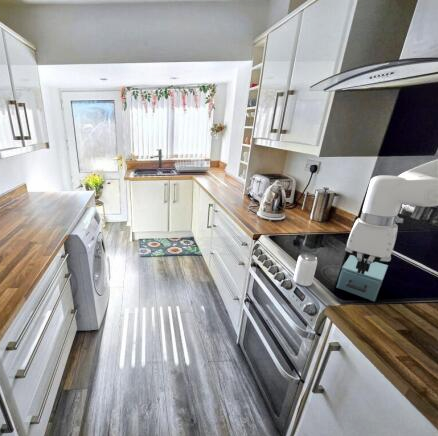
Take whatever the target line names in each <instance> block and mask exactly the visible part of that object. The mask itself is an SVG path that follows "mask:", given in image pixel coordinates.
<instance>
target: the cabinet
mask: <svg viewBox="0 0 438 436" xmlns="http://www.w3.org/2000/svg"><path fill="white" fill-rule="evenodd" d="M366 259H367V258H364V260H366ZM357 262H358V261H357V258H356V257H355V256H354V255H353V254H349V256H348V258H347V260H346V261H345V262H344V264H343V265H342V267H341V270H340V274H339V277H338V280H337V282H336V283H337V284H336V286H335V287H336V288H337V289H340V288H338V286H339V282H340V279H341V276H342V272H343V270H347V271H351V272H354V273H357V271H358V269H356V265H357ZM364 262H365V261H364ZM388 267H389V265H388V264H386V263H385V264H384V263H382V262H379V261H377V262H374V263H372V264H370V267H369V270H368V272H366V271H365V273H364V274H362V273H361V272H360V273H357V274H360V275H363V276H366V277H369V278H372V279H376V280H378V281H380V282H379V285H378V287H377V290H376V293H375V295H374V298H373V300H370V299H367V298H365V297H362V296H359V295H356V294H354V293H351V292H348V291H346V290H343V289H340V290H343V291H345V292H347V293H350V294H353V295H355V296H358V297H361V298H363V299H367V300H369V301H371V302H374V303H375V302H376V300H377V297H378V294H379V291H380V288H381V287H382V283H383V280H384V278H385V275H386V273H387V270H388ZM361 271H362V270H361Z"/></svg>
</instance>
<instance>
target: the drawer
mask: <svg viewBox="0 0 438 436" xmlns="http://www.w3.org/2000/svg"><path fill="white" fill-rule="evenodd" d="M379 282H380V281H378V280H376V279H372V278H369V277H364V276H361V275H358V274H357V273H354V272H351V271H347V270H343V272H342V276H341V279H340V282H339V286H338V288H337V289H339V288H340V290H342V289H343V291H345V290H346V291H345V292H347V291H348V292H347V293H350V292H351V293H350V294H353V293H354V294H353V295H355V294H356V295H355V296H358V295H359V296H358V297H361V296H362V297H361V298H363V297H365V298H364V299H366V298H367V300H369V299H370V300H369V301H372V300H373V298H374V295H375V293H376V290H377V287H378V285H379Z"/></svg>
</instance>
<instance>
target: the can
mask: <svg viewBox="0 0 438 436" xmlns="http://www.w3.org/2000/svg"><path fill="white" fill-rule="evenodd" d="M317 265H318V258H317V256H316V255H314V254H311V253H306V252H301V253H300V255H299V256H298V258H297V261H296V267H295V270H294V275H293V281H294V283H295V284H297V285H299V286H302V287H310V286H312V285H313V282H314V277H315V274H316V270H317Z"/></svg>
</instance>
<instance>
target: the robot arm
mask: <svg viewBox="0 0 438 436" xmlns="http://www.w3.org/2000/svg"><path fill="white" fill-rule="evenodd" d="M403 204H404V205H411V206H415V207H416V206H417V207H424V208H430V207H437V206H438V158H437V159H434V160H431V161H429V162H425V163H423V164H420V165H418V166H416V167H412V168H411V169H408V170H406V171H404V172H402V173H401V174H398V175H388V174H387V175H386V174H385V175H383V174H382V175H376V176H373V177H372V178H371V179H370V181H369V184H368V188H367V192H366V195H365V199H364V202H363V206H362V210H361V214H360V217H358V218H357V219H355V222H354V224H353V226H352V228H351V231H350V233H349V236H348V239H347V241H346V246H345V248H344V251H346V252H348V253H349V254H351V255H353V256H355V257H356V258H357V261H358V262H357V265H356V269H358V271H357V273H360V272H361V273H362V274H364V273H365V271H366V272H368V270H369V267H370V264H372V263H374V262H385V263H386V262H388V263H389V262H391V260H392V253H393V251H394V247H395V244H396V240H397V236H398V224H403V223H404V219H405V218H402V217H399V216H398V214H399V212H400V209H401V205H403ZM364 255H369V256H368V258H365V257H364ZM364 259H366V260H364ZM364 261H365V262H364ZM361 270H362V271H361Z"/></svg>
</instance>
